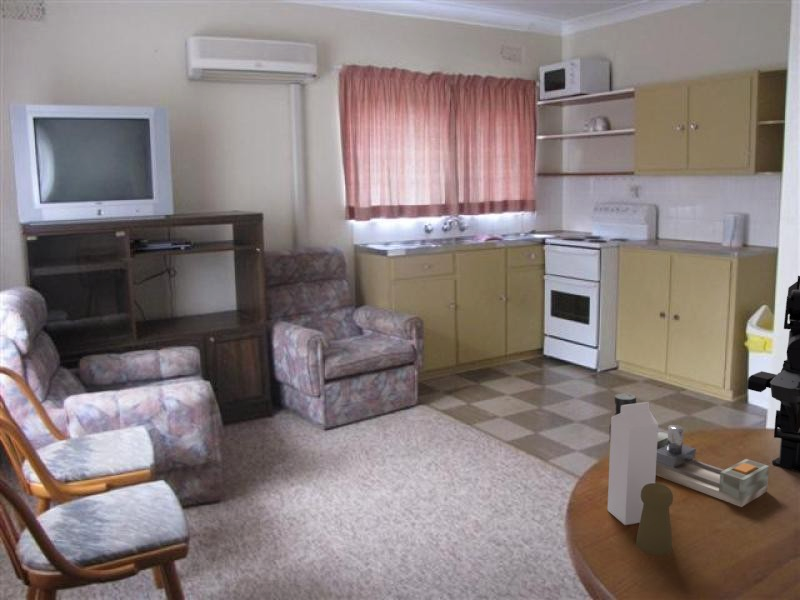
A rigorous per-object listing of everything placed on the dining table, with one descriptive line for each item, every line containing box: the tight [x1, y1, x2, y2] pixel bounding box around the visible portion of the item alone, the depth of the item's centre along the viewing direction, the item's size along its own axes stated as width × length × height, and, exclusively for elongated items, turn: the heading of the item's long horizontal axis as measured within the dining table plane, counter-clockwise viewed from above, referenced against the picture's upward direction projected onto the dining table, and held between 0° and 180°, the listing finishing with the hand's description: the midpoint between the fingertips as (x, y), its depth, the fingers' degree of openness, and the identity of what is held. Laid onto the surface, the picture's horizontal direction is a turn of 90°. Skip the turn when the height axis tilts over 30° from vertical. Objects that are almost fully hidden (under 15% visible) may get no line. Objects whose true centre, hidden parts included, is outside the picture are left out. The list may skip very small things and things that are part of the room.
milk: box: [607, 401, 659, 526], centre depth 134 cm, size 6×6×22 cm
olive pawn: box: [635, 482, 674, 556], centre depth 125 cm, size 6×6×11 cm
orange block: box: [734, 463, 756, 475], centre depth 143 cm, size 4×2×3 cm, turn 128°
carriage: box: [656, 424, 697, 468], centre depth 154 cm, size 8×5×7 cm, turn 128°
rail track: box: [655, 431, 770, 508], centre depth 151 cm, size 10×24×6 cm, turn 38°
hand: (796, 432), depth 143 cm, fingers closed
